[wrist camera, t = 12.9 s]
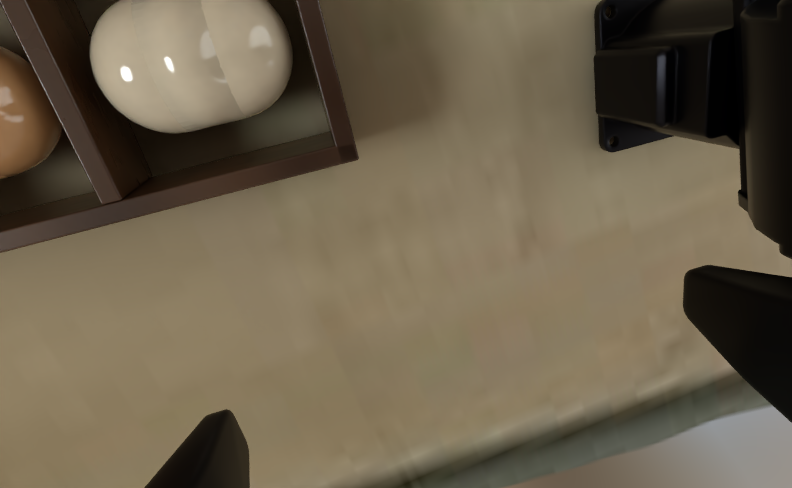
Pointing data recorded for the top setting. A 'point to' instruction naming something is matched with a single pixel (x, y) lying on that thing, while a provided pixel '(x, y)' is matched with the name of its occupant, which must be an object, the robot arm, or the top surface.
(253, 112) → the cream egg
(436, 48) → the top surface
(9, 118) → the brown egg
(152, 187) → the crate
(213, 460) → the robot arm
